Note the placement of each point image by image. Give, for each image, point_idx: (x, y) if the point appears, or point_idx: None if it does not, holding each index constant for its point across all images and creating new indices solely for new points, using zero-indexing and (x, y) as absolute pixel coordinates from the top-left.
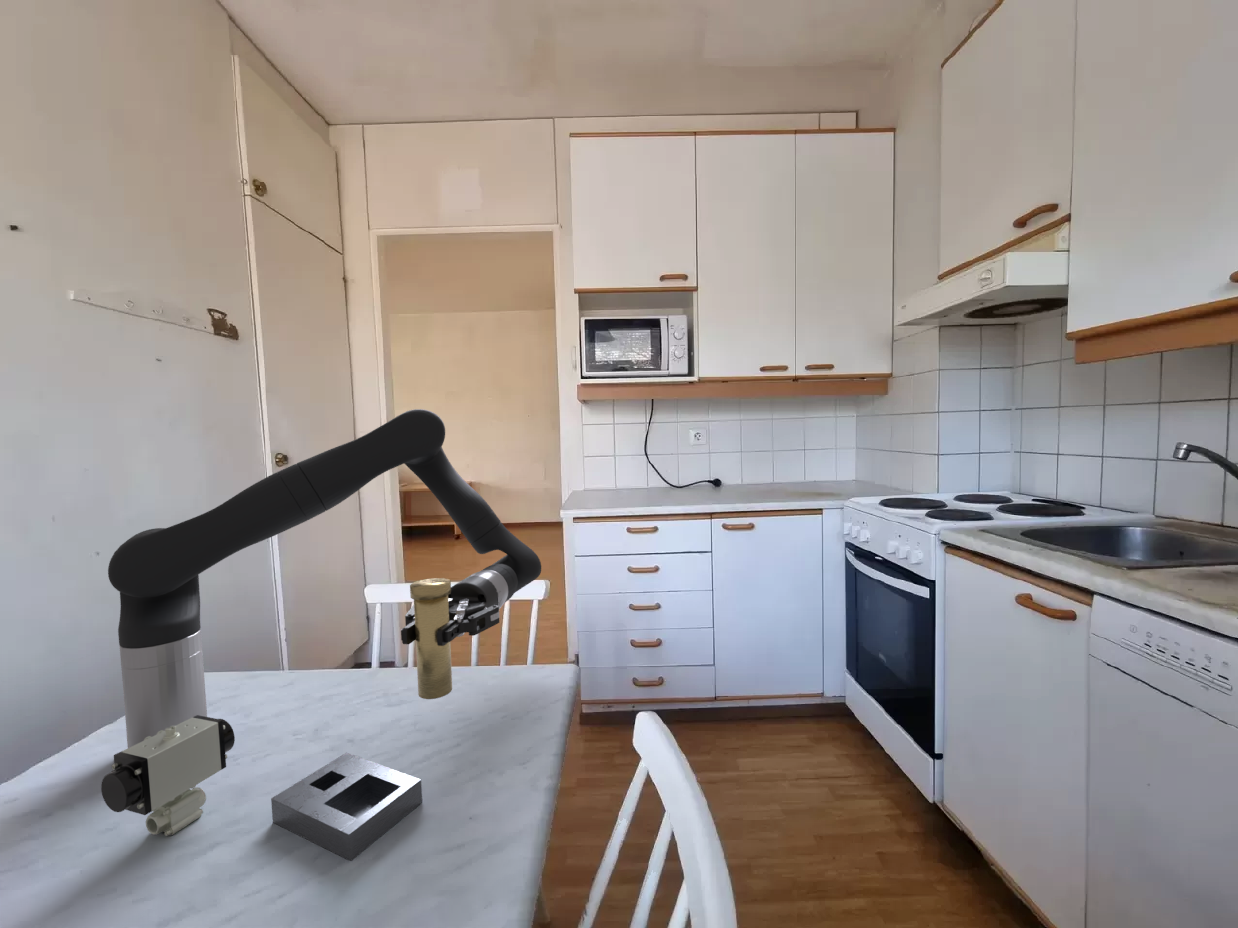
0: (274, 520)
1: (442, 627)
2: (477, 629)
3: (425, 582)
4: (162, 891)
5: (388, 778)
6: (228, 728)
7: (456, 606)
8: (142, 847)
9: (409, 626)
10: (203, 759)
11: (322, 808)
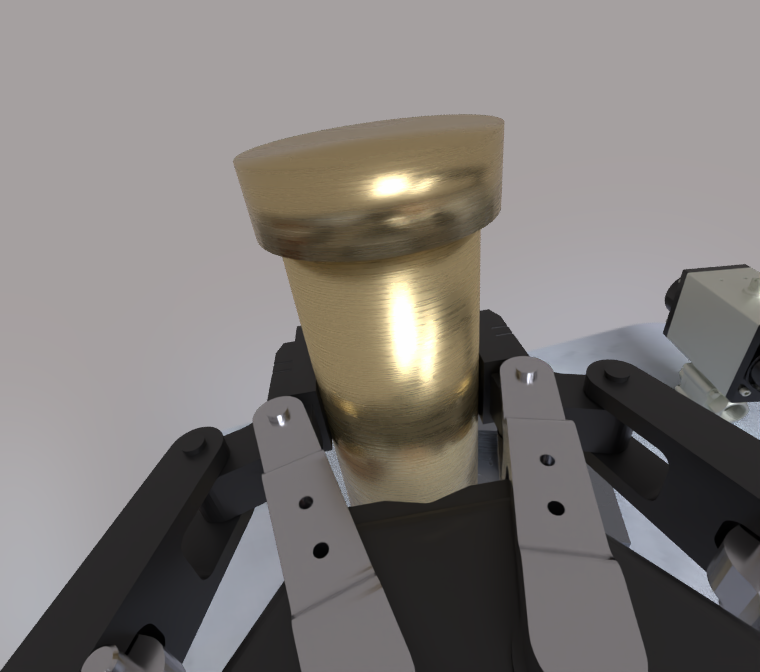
0: None
1: None
2: (202, 522)
3: (418, 132)
4: (564, 362)
5: None
6: None
7: (453, 651)
8: (677, 378)
9: None
10: (719, 352)
11: (490, 425)
